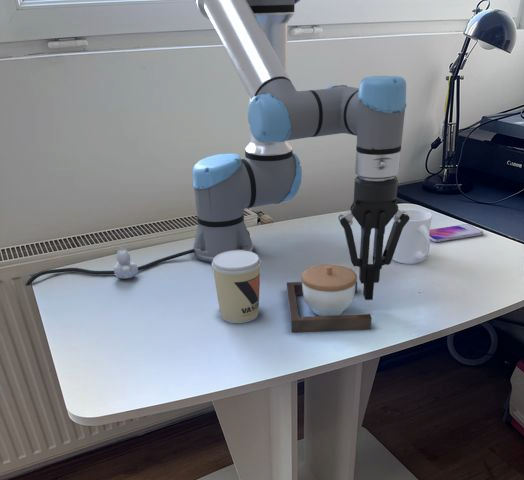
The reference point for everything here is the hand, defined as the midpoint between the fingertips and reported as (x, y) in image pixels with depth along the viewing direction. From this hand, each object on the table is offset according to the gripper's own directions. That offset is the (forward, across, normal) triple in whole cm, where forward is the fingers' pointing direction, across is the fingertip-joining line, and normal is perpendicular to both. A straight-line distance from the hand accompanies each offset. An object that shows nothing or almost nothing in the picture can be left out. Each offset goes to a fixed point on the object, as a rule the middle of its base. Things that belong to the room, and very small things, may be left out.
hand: (367, 296), depth 102 cm
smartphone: (+3, +30, +40) cm, 50 cm away
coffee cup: (+3, -26, 0) cm, 26 cm away
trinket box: (+3, -8, 0) cm, 8 cm away
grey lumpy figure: (+2, -53, +20) cm, 56 cm away
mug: (+3, +15, +24) cm, 28 cm away
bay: (+3, -8, 0) cm, 8 cm away
